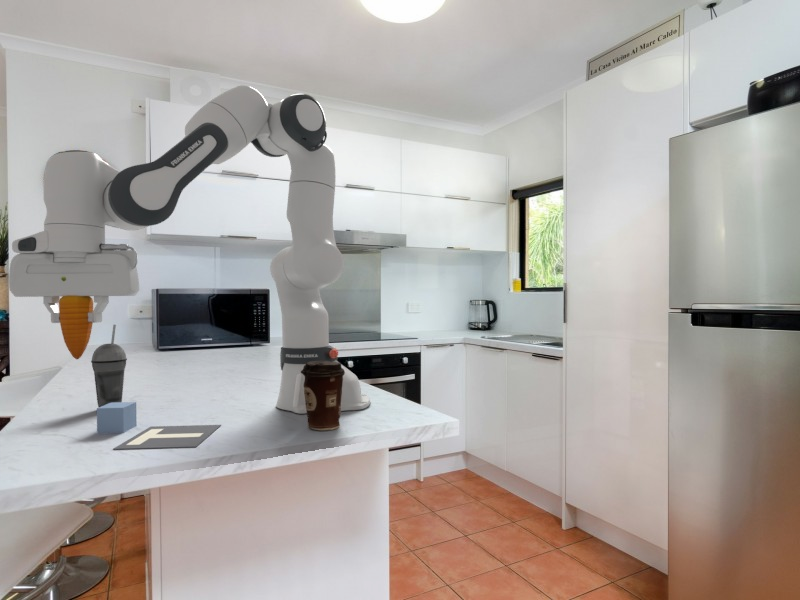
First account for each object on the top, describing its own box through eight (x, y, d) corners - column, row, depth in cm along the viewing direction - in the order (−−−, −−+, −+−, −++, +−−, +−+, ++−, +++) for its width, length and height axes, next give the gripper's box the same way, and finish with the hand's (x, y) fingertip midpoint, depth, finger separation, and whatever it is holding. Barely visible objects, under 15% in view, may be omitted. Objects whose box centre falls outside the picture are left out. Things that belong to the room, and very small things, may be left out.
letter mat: (221, 425, 96) (221, 424, 96) (196, 447, 82) (196, 446, 82) (150, 427, 95) (150, 426, 95) (113, 449, 81) (113, 448, 81)
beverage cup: (94, 407, 113) (93, 324, 113) (129, 404, 116) (128, 323, 116) (88, 414, 106) (87, 326, 106) (126, 410, 109) (124, 325, 109)
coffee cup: (302, 434, 89) (302, 366, 89) (299, 423, 97) (298, 360, 97) (348, 430, 92) (347, 364, 92) (341, 419, 100) (340, 358, 100)
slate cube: (136, 426, 97) (136, 402, 97) (123, 433, 92) (123, 407, 92) (111, 426, 96) (111, 402, 96) (97, 434, 91) (96, 408, 91)
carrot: (60, 362, 79) (58, 273, 79) (59, 359, 83) (58, 274, 83) (95, 359, 82) (93, 273, 82) (92, 356, 86) (91, 274, 86)
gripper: (145, 245, 87) (146, 320, 87) (28, 246, 85) (29, 322, 85) (127, 241, 80) (128, 322, 80) (1, 242, 79) (2, 324, 79)
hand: (76, 322), depth 83 cm, fingers closed on carrot, 5 cm apart
